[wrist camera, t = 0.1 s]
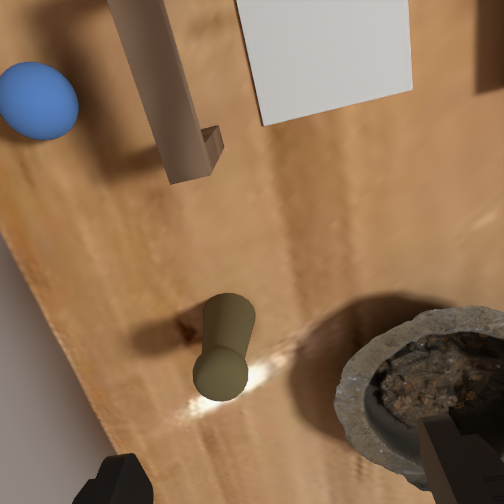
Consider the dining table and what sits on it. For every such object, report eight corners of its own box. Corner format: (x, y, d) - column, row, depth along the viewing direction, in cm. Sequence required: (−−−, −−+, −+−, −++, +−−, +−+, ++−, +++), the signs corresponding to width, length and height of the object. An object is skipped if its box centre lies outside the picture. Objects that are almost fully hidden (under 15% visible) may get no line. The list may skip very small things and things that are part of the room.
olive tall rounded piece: (217, 342, 46) (204, 418, 37) (193, 303, 44) (172, 374, 34) (264, 326, 45) (262, 401, 35) (241, 285, 43) (234, 353, 33)
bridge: (193, 154, 36) (170, 184, 28) (135, -36, 30) (81, -75, 21) (224, 147, 36) (210, 175, 27) (171, -48, 30) (132, -92, 21)
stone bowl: (535, 423, 50) (580, 496, 42) (339, 430, 55) (346, 497, 47) (566, 258, 39) (636, 314, 31) (318, 285, 44) (322, 340, 36)
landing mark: (225, -48, 29) (225, -49, 29) (401, -103, 28) (402, -104, 27) (263, 125, 35) (263, 126, 35) (412, 89, 33) (412, 89, 33)
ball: (9, 71, 34) (-39, 74, 28) (72, 53, 33) (34, 52, 28) (42, 140, 36) (3, 154, 31) (100, 124, 35) (71, 136, 30)
